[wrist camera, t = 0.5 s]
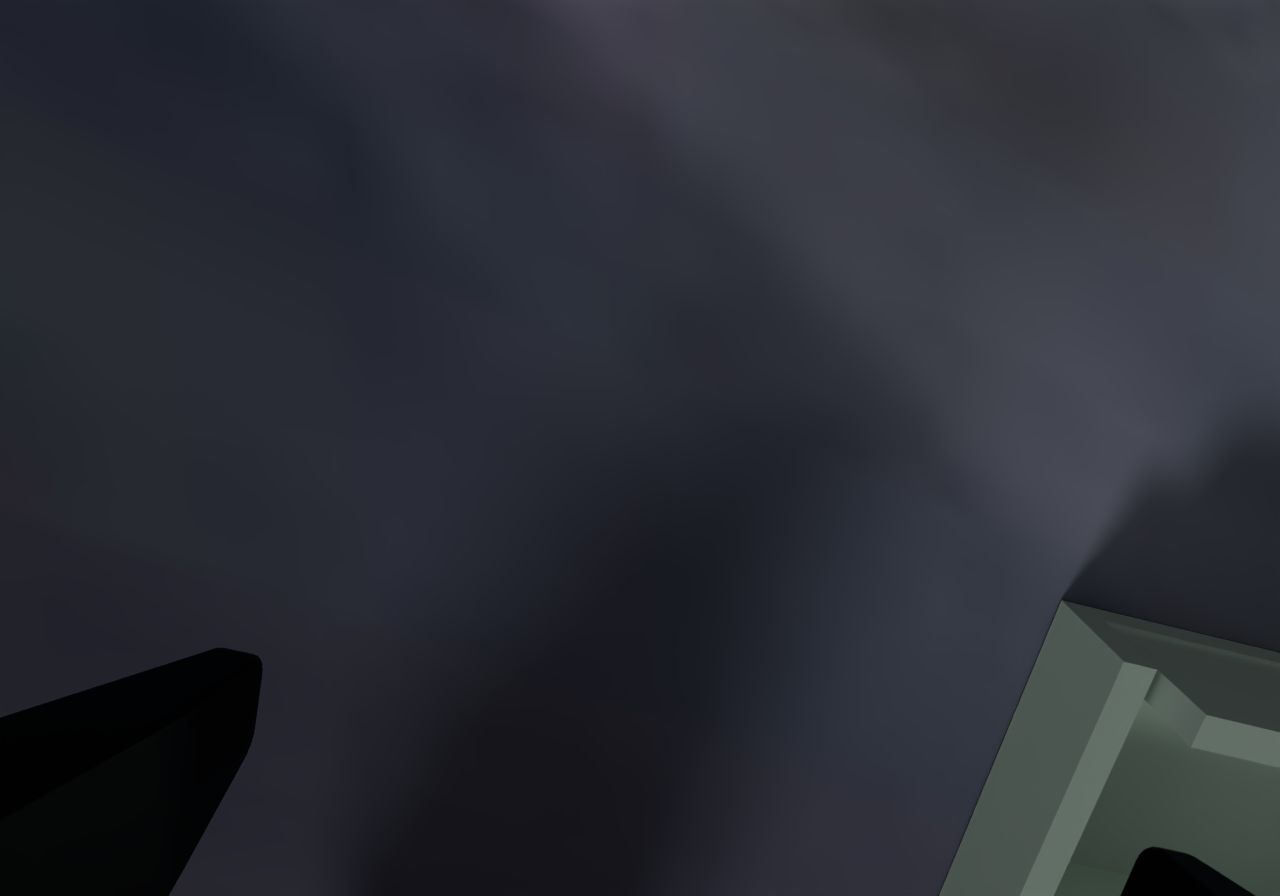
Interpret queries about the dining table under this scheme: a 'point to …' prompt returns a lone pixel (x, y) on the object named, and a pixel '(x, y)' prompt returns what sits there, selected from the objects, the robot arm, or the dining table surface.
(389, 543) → the dining table surface
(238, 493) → the dining table surface
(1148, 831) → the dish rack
